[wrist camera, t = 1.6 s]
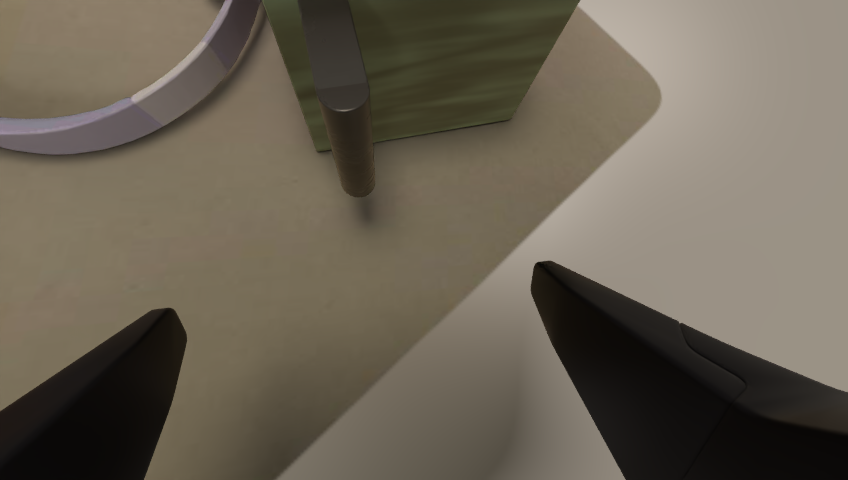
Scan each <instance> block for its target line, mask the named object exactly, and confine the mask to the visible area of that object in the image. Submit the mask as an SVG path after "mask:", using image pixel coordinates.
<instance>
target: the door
mask: <svg viewBox="0 0 848 480" xmlns="http://www.w3.org/2000/svg"><path fill="white" fill-rule="evenodd" d="M579 1H580V0H262V2H263V5H264V7H265V10H266V13H267V16H268V19H269V21H270V24H271V27H272V30H273V32H274V35H275V38H276V41H277V43H278V46H279V49H280V52H281V54H282V57H283V60H284V63H285V65H286V68H287V71H288V74H289V76H290V79H291V82H292V85H293V87H294V90H295V93H296V96H297V98H298V101H299V104H300V107H301V109H302V112H303V115H304V118H305V120H306V123H307V126H308V129H309V132H310V134H311V137H312V140H313V143H314V145H315V148H316V151H317V152H319V151H325V150H331V149H332V152H333V156H334V159H335V163H336V166H337V170H338V174H339V177H340V181H341V184H342V187H343V189H344V191H345V192H346V193H347V194H349V195H350V196H353V197H363V196H366V195H368V194H369V193H370V192H371V191H372V190H373V188H374V186H375V171H374V153H373V142H379V141H385V140H391V139H396V138H402V137H408V136H414V135H420V134H426V133H432V132H438V131H444V130H450V129H456V128H462V127H468V126H474V125H480V124H486V123H492V122H497V121H503V120H509V119H511V118H512V116H513V115H514V113H515V111H516V109H517V108H518V106H519V104H520V103H521V101H522V99H523V97H524V96H525V94H526V92H527V91H528V89H529V87H530V85H531V84H532V82H533V80H534V79H535V77H536V75H537V73H538V72H539V70H540V68H541V67H542V65H543V63H544V61H545V60H546V58H547V56H548V55H549V53H550V51H551V49H552V48H553V46H554V44H555V43H556V41H557V39H558V37H559V36H560V34H561V32H562V31H563V29H564V27H565V25H566V24H567V22H568V20H569V19H570V17H571V15H572V13H573V12H574V10H575V8H576V7H577V5H578V3H579Z"/></svg>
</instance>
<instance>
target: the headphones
mask: <svg viewBox="0 0 848 480" xmlns="http://www.w3.org/2000/svg"><path fill="white" fill-rule="evenodd" d="M260 1H261V0H225V2H224V4H223V6H222V8H221V10H220V12H219V14H218V16H217V17H216V19H215V21H214V23H213V24H212V26H211V28H210V29H209V30H208V32H207V33H206V34H205V36H204V37H203V39H202V41H201V42H200V43H199V44H198V45H197V46H196V47H195V48H194V49H193V50H192V51H191V52H190V54H189V55H188V56H187V57H185V58H184V59H183V60H182V61H181V62H180V63H179V64H178V65H177V66H176V67H175V68H173V69H172V70H171V71H170V72H168V73H167V74H166V75H164V76H163V77H161V78H160V79H159V80H157V81H156V82H154V83H153V84H151V85H150V86H148V87H146V88H145V89H143V90H141V91H140V92H138V93H136V94H135V95H133V96H132V97H128V98H124V99H122V100H120V101H118V102H116V103H114V104H112V105H110V106H107V107H104V108H101V109H98V110H94V111H89V112H85V113H80V114H75V115H70V116H63V117H55V118H44V119H17V118H4V117H0V147H2V148H7V149H11V150H16V151H23V152H30V153H39V154H51V155H52V154H77V153H84V152H91V151H98V150H104V149H107V148H111V147H115V146H118V145H121V144H124V143H127V142H131V141H133V140H136V139H138V138H140V137H143V136H145V135H147V134H149V133H151V132H153V131H155V130H157V129H160V128H162V127H163V126H165V125H167V124H168V123H170V122H171V121H173V120H175V119H176V118H178V117H179V116H181V115H182V114H184V113H185V112H187V111H188V110H189V109H191V108H192V107H193V106H195V105H196V104H197V103H198V102H200V101H201V100H202V99H203V98H205V97H206V96H207V95H208V94H209V93H210V92H211V91H212V90H213V89H214V88H215V87H216V86H217V85H218V84H219V83H220V82H221V81H222V79H223V78H224V77H225V75H226V74H227V73H228V71H229V70H230V68H231V67H232V66H233V64H234V63H235V61H236V60H237V58H238V56H239V54H240V52H241V51H242V49H243V47H244V45H245V43H246V41H247V39H248V37H249V35H250V31H251V28H252V26H253V23H254V20H255V17H256V14H257V11H258V7H259V4H260Z"/></svg>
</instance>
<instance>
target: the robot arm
mask: <svg viewBox="0 0 848 480" xmlns="http://www.w3.org/2000/svg"><path fill="white" fill-rule="evenodd" d="M531 294H532V297H533V299H534V302H535V304H536V306H537V309H538V311H539V314H540V316H541V319H542V321H543V323H544V326H545V329H546V331H547V334H548V336H549V338H550V341H551V343H552V345H553V347H554V349H555V351H556V353H557V354H558V356H559V358H560V360H561V362H562V364H563V365H564V367H565V369H566V371H567V373H568V375H569V376H570V378H571V380H572V382H573V384H574V386H575V387H576V389H577V391H578V393H579V395H580V397H581V398H582V400H583V402H584V404H585V406H586V407H587V409H588V411H589V413H590V415H591V417H592V419H593V420H594V422H595V424H596V426H597V428H598V430H599V431H600V433H601V435H602V437H603V439H604V441H605V442H606V444H607V446H608V448H609V450H610V452H611V453H612V455H613V457H614V459H615V461H616V463H617V465H618V466H619V468H620V470H621V472H622V474H623V476H624V477H625V479H626V480H848V392H844V391H841V390H838V389H835V388H832V387H830V386H827V385H824V384H822V383H820V382H817V381H815V380H812V379H810V378H807V377H805V376H803V375H800V374H798V373H795V372H793V371H790V370H788V369H786V368H783V367H781V366H778V365H776V364H774V363H771V362H769V361H766V360H764V359H762V358H759V357H757V356H754V355H752V354H749V353H747V352H745V351H742V350H740V349H737V348H735V347H733V346H731V345H728V344H726V343H724V342H721V341H719V340H717V339H715V338H712V337H710V336H708V335H706V334H704V333H702V332H700V331H697V330H695V329H693V328H691V327H689V326H687V325H685V324H683V323H680V324H679V322H678V321H677V320H674V319H672V318H670V317H668V316H666V315H664V314H662V313H660V312H658V311H656V310H653V309H651V308H649V307H647V306H645V305H643V304H641V303H639V302H637V301H634V300H632V299H630V298H628V297H626V296H624V295H622V294H620V293H618V292H616V291H613V290H611V289H609V288H607V287H605V286H603V285H601V284H599V283H597V282H595V281H593V280H590V279H588V278H586V277H584V276H582V275H580V274H578V273H576V272H574V271H571V270H569V269H567V268H565V267H563V266H561V265H559V264H556V263H555V262H553V261H543V262H537V263H536V264H535V266H534V270H533V276H532V283H531ZM186 343H187V335H186V332H185V329H184V327H183V325H182V323H181V321H180V319H179V317H178V315H177V313H176V312H175V310H174V309H172V308H163V309H155V310H151V311H150V312H148V313H147V314H145V315H144V316H142V317H141V318H139V319H138V320H136V321H135V322H133V323H132V324H130V325H129V326H127V327H126V328H124V329H123V330H121V331H120V332H118V333H117V334H115V335H114V336H112V337H111V338H109V339H108V340H106V341H105V342H103V343H102V344H100V345H99V346H97V347H96V348H94V349H93V350H91V351H90V352H88V353H87V354H85V355H84V356H82V357H81V358H79V359H78V360H76V361H75V362H73V363H72V364H70V365H69V366H67V367H66V368H64V369H63V370H61V371H60V372H58V373H57V374H55V375H54V376H52V377H51V378H49V379H48V380H46V381H45V382H43V383H42V384H40V385H39V386H37V387H36V388H34V389H33V390H31V391H30V392H28V393H27V394H25V395H24V396H22V397H21V398H19V399H18V400H16V401H15V402H13V403H12V404H10V405H9V406H7V407H6V408H5V409H3V410H2V411H0V480H144V478H145V475H146V472H147V470H148V467H149V464H150V462H151V459H152V456H153V453H154V451H155V448H156V445H157V442H158V440H159V437H160V434H161V432H162V429H163V426H164V423H165V421H166V418H167V415H168V412H169V409H170V407H171V404H172V400H173V397H174V393H175V389H176V385H177V381H178V377H179V372H180V368H181V364H182V360H183V356H184V352H185V348H186Z"/></svg>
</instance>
